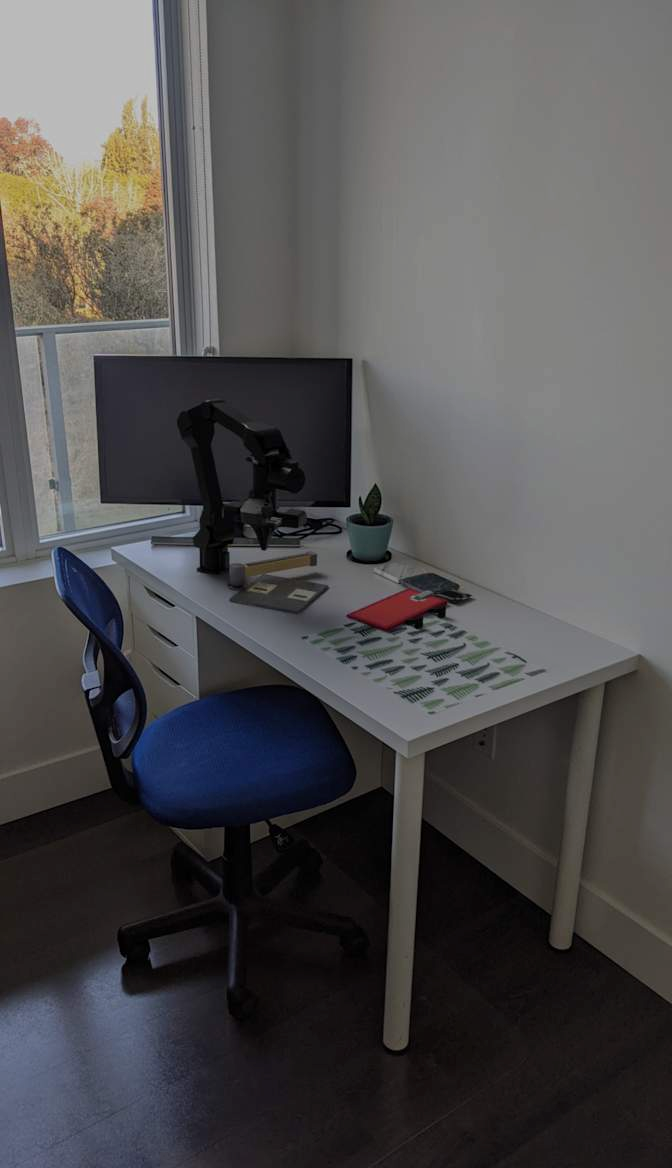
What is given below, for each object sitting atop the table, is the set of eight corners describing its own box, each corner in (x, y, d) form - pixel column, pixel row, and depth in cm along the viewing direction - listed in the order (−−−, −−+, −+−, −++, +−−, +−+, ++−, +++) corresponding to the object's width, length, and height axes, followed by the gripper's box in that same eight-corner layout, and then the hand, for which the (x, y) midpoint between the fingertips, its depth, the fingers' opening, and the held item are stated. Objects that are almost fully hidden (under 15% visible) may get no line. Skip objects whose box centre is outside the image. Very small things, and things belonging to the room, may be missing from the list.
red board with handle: (479, 601, 212) (427, 585, 222) (480, 589, 211) (427, 574, 221) (400, 639, 191) (346, 620, 201) (400, 627, 190) (346, 608, 200)
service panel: (210, 597, 208) (210, 593, 208) (245, 573, 224) (245, 569, 223) (298, 613, 201) (298, 610, 201) (328, 587, 217) (328, 583, 216)
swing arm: (234, 587, 212) (234, 569, 211) (227, 582, 215) (226, 564, 214) (317, 571, 225) (318, 554, 223) (309, 566, 227) (310, 550, 226)
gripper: (210, 487, 200) (211, 554, 205) (289, 498, 194) (288, 566, 200) (232, 476, 210) (233, 540, 215) (308, 486, 204) (306, 552, 210)
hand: (264, 550), depth 210 cm, fingers closed
